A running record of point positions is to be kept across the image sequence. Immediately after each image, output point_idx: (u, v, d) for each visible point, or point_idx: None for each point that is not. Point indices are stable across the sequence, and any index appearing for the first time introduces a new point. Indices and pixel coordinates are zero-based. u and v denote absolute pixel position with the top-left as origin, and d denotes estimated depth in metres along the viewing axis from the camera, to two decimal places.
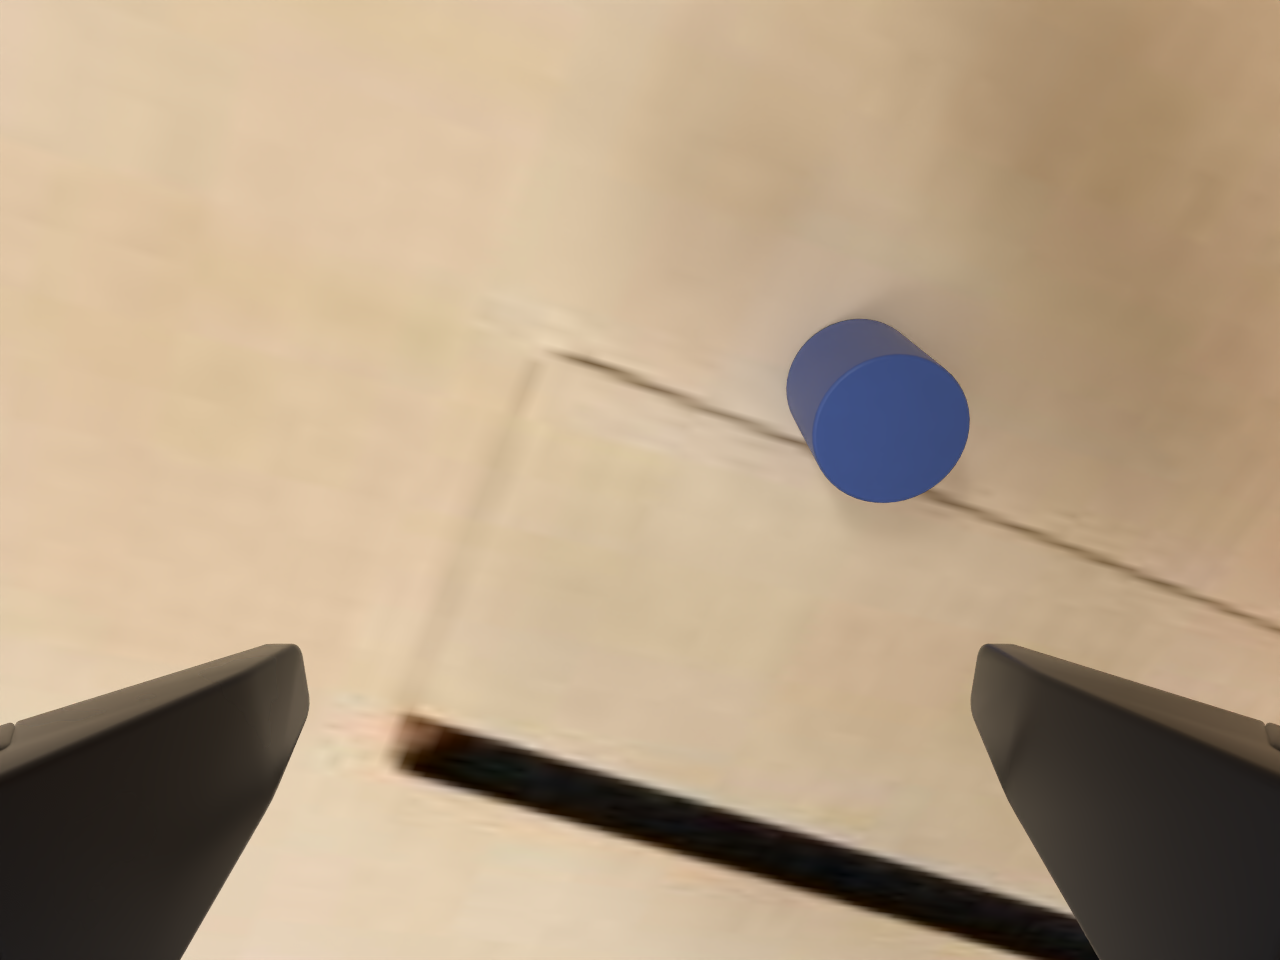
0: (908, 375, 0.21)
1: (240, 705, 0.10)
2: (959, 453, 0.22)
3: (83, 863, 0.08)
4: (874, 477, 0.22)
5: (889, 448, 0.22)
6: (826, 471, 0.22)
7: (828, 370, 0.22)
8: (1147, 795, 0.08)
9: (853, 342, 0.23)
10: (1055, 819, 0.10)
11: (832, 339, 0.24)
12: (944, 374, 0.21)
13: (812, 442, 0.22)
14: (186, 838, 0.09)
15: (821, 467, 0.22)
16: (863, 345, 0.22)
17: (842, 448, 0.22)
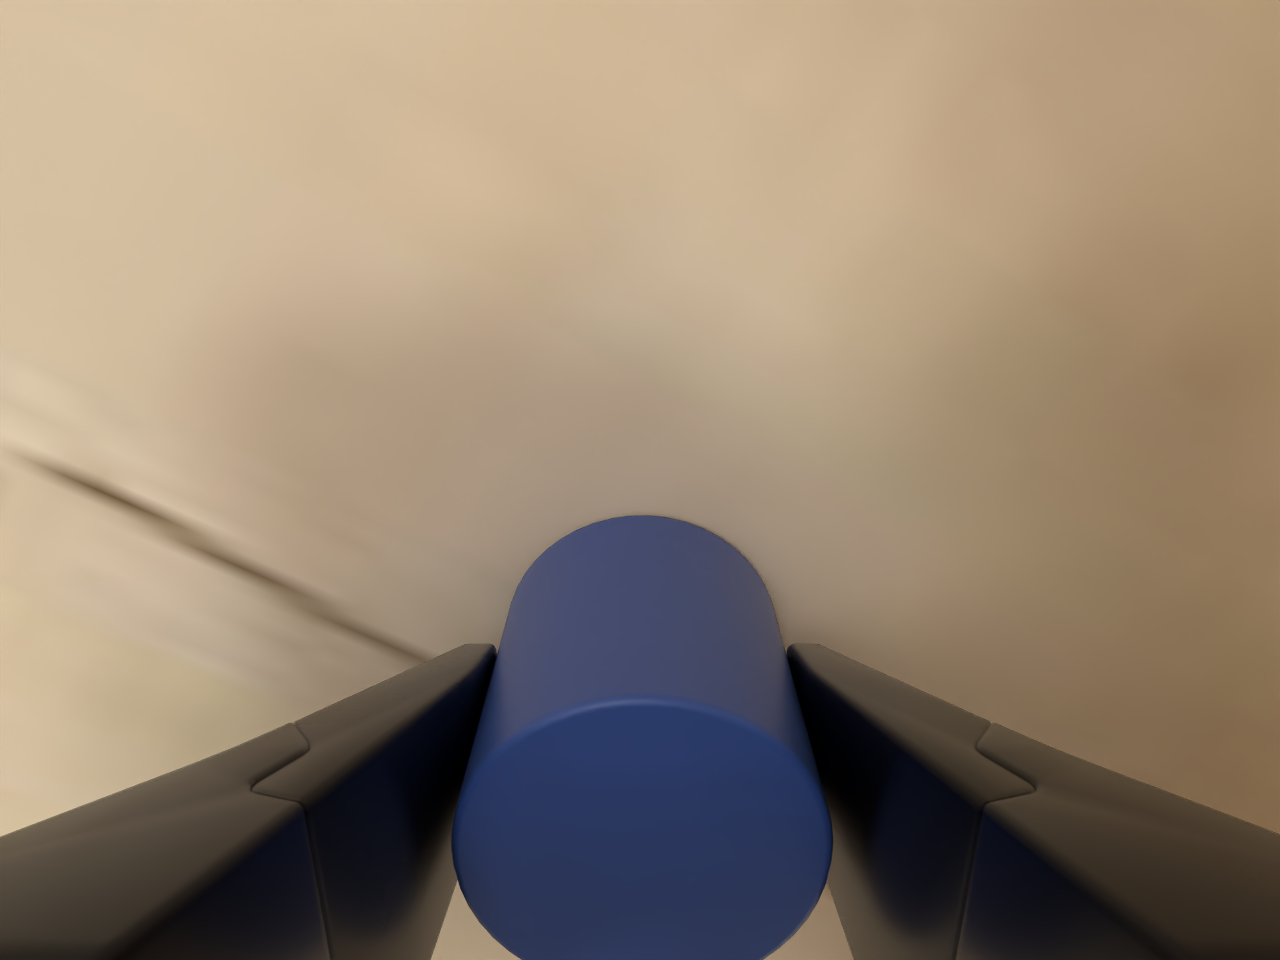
0: (700, 753, 0.08)
1: (469, 705, 0.10)
2: (794, 928, 0.09)
3: (380, 863, 0.08)
4: (590, 942, 0.09)
5: (632, 891, 0.09)
6: (477, 913, 0.09)
7: (533, 670, 0.09)
8: (876, 795, 0.08)
9: (614, 602, 0.10)
10: None
11: (589, 567, 0.11)
12: (788, 765, 0.08)
13: (452, 845, 0.09)
14: (436, 838, 0.09)
15: (467, 901, 0.09)
16: (627, 626, 0.09)
17: (518, 873, 0.09)
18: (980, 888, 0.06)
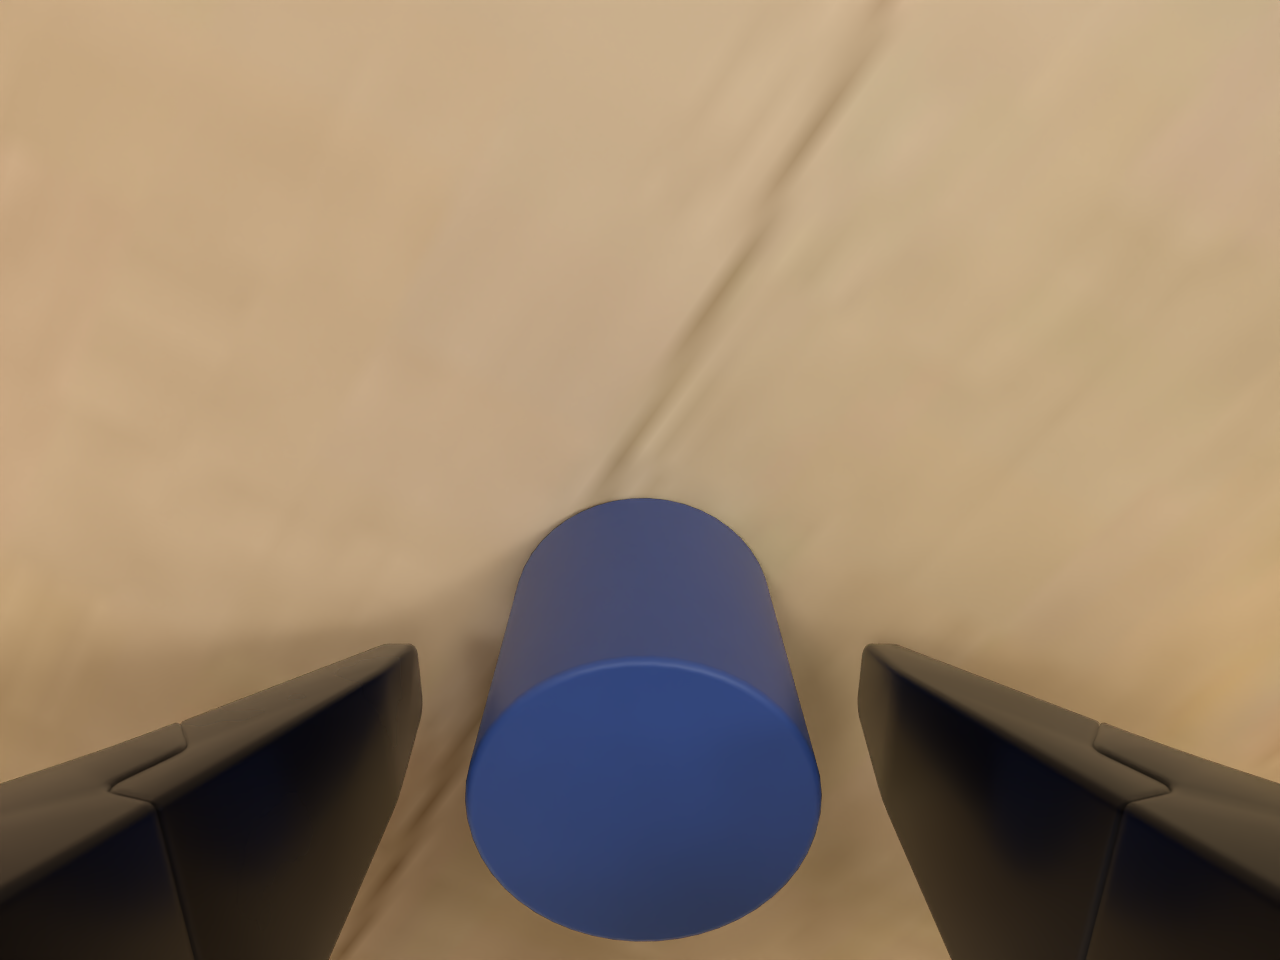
0: (697, 711, 0.09)
1: (376, 705, 0.10)
2: (785, 879, 0.10)
3: (259, 863, 0.08)
4: (594, 892, 0.10)
5: (634, 842, 0.10)
6: (489, 864, 0.10)
7: (541, 637, 0.10)
8: (984, 795, 0.08)
9: (617, 576, 0.10)
10: (917, 819, 0.10)
11: (593, 545, 0.11)
12: (778, 723, 0.09)
13: (466, 800, 0.10)
14: (334, 838, 0.09)
15: (480, 853, 0.10)
16: (630, 597, 0.10)
17: (528, 826, 0.10)
18: (1120, 888, 0.06)
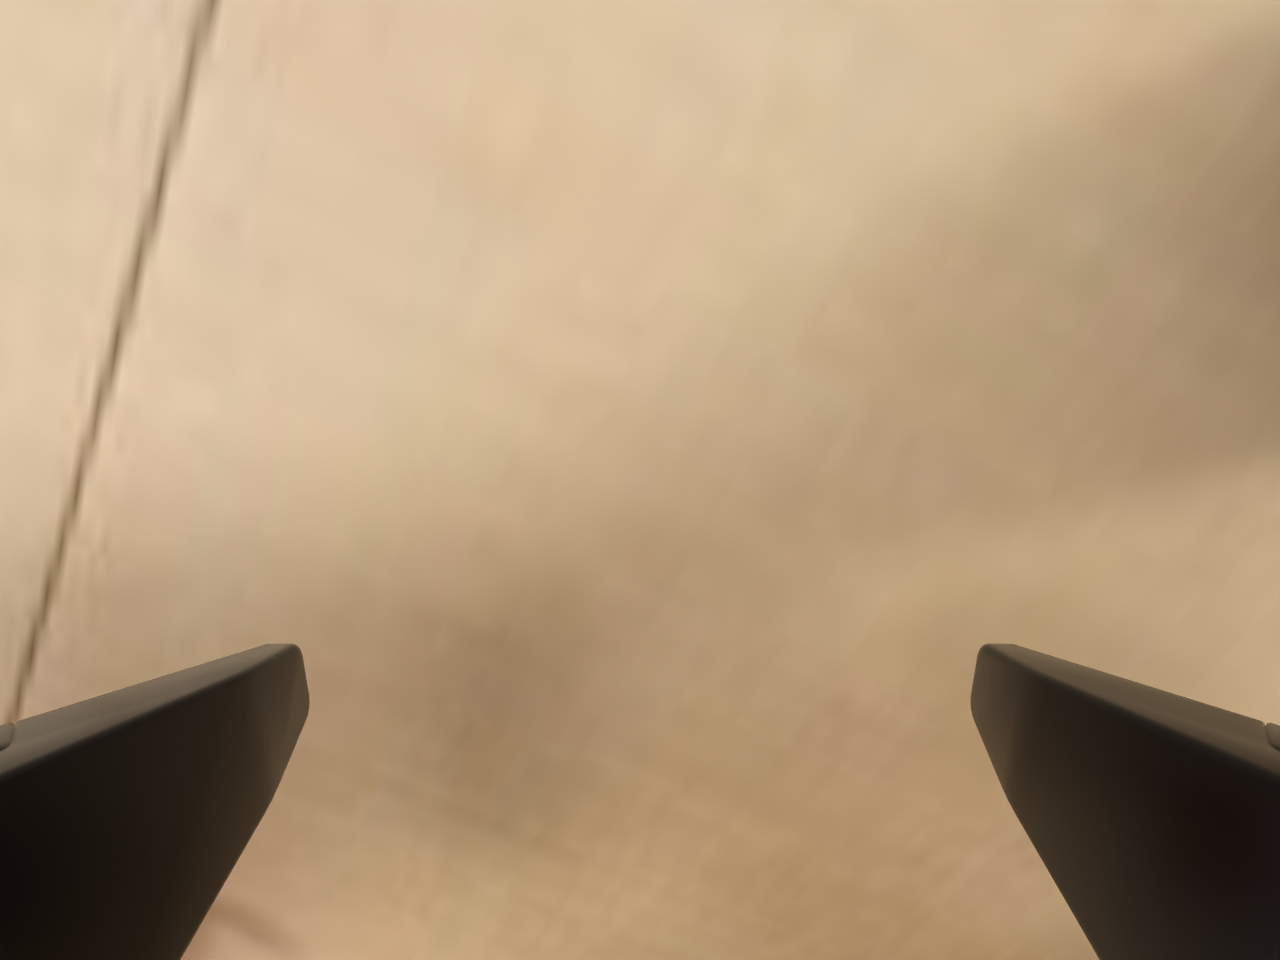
0: None
1: (240, 705, 0.10)
2: None
3: (83, 863, 0.08)
4: None
5: None
6: None
7: None
8: (1147, 795, 0.08)
9: None
10: (1055, 819, 0.10)
11: None
12: None
13: None
14: (186, 838, 0.09)
15: None
16: None
17: None
18: None
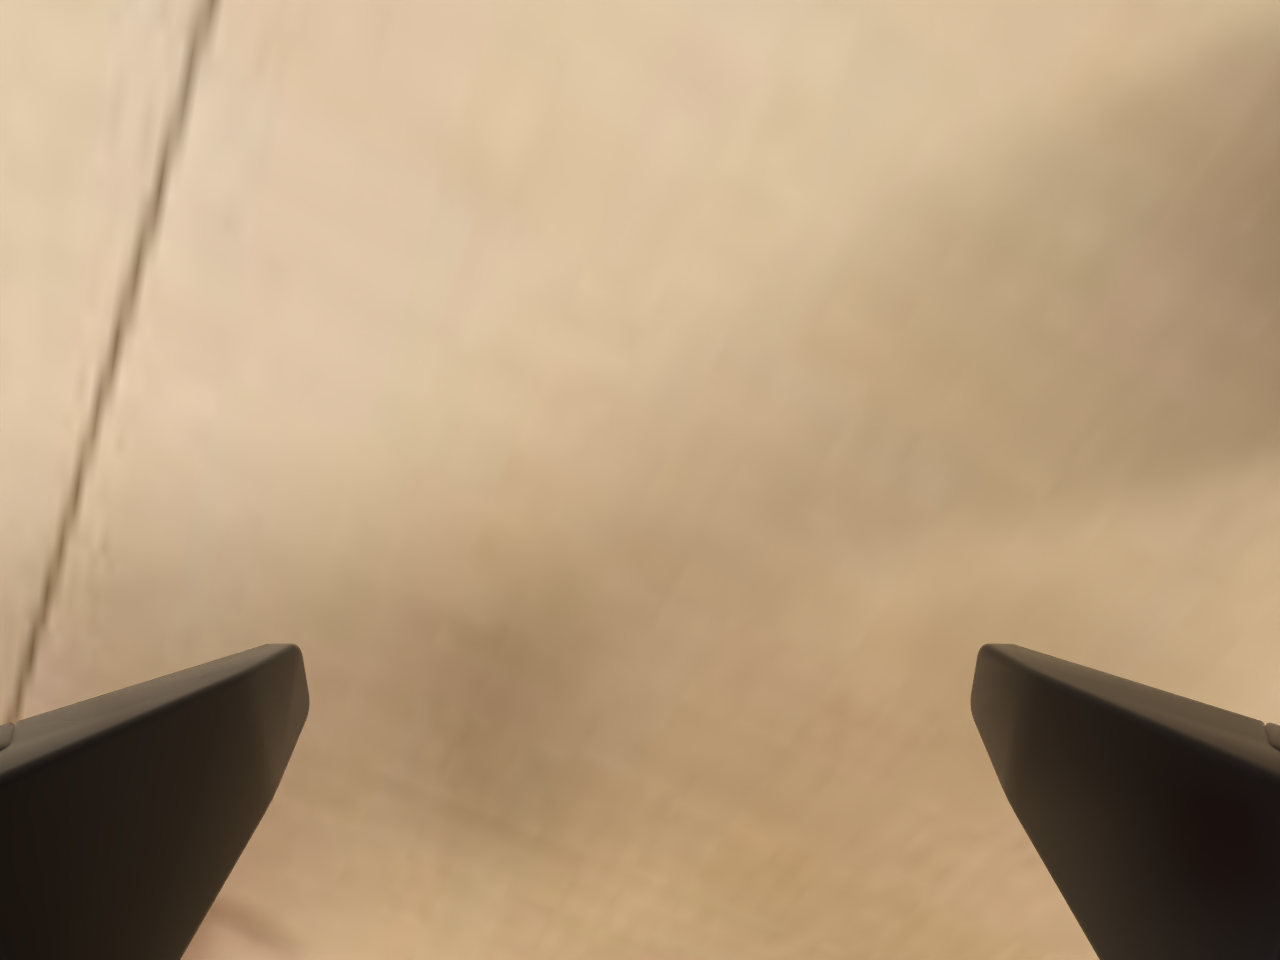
0: None
1: (240, 705, 0.10)
2: None
3: (83, 863, 0.08)
4: None
5: None
6: None
7: None
8: (1147, 795, 0.08)
9: None
10: (1055, 819, 0.10)
11: None
12: None
13: None
14: (186, 838, 0.09)
15: None
16: None
17: None
18: None
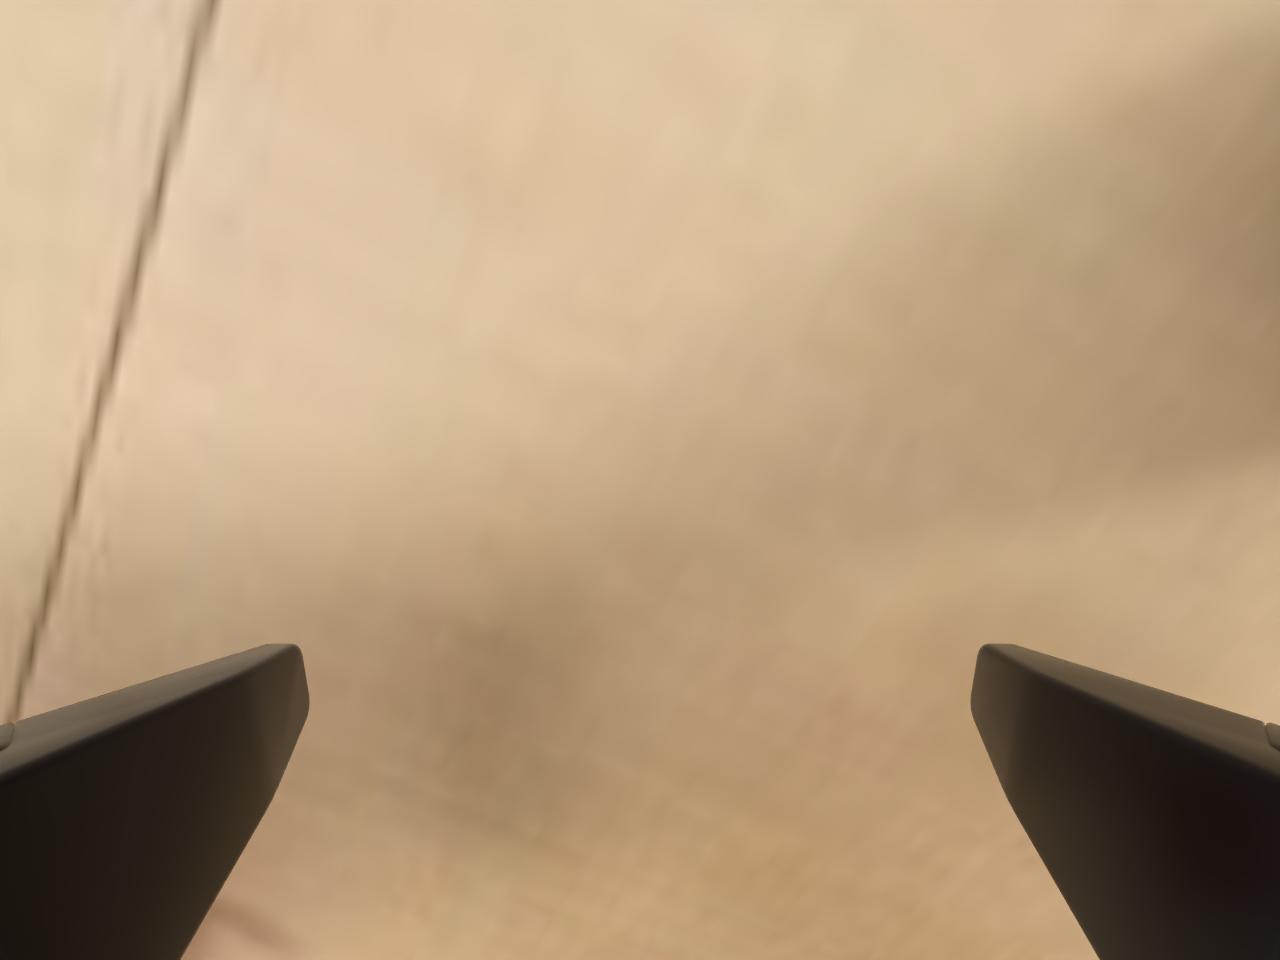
0: None
1: (240, 705, 0.10)
2: None
3: (83, 863, 0.08)
4: None
5: None
6: None
7: None
8: (1147, 795, 0.08)
9: None
10: (1055, 819, 0.10)
11: None
12: None
13: None
14: (186, 838, 0.09)
15: None
16: None
17: None
18: None
